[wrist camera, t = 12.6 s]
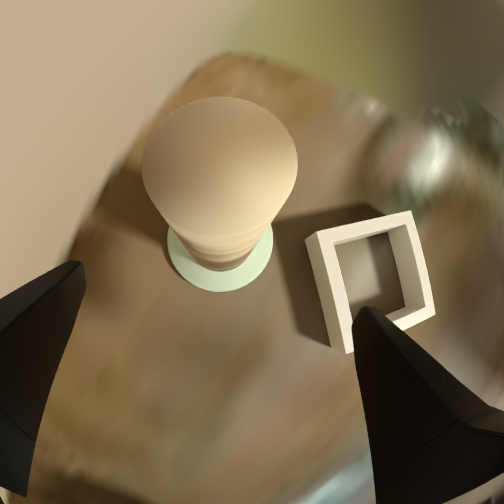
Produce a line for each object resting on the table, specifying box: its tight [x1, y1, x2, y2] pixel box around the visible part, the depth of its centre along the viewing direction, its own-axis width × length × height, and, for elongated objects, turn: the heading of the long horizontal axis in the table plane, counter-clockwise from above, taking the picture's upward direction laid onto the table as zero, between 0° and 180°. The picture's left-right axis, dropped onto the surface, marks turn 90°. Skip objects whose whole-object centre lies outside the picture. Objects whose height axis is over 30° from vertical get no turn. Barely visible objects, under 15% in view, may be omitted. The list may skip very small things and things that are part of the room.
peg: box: [141, 97, 298, 272], centre depth 15 cm, size 5×5×13 cm
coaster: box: [167, 224, 273, 292], centre depth 22 cm, size 8×8×1 cm
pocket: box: [305, 211, 435, 354], centre depth 21 cm, size 9×9×3 cm
